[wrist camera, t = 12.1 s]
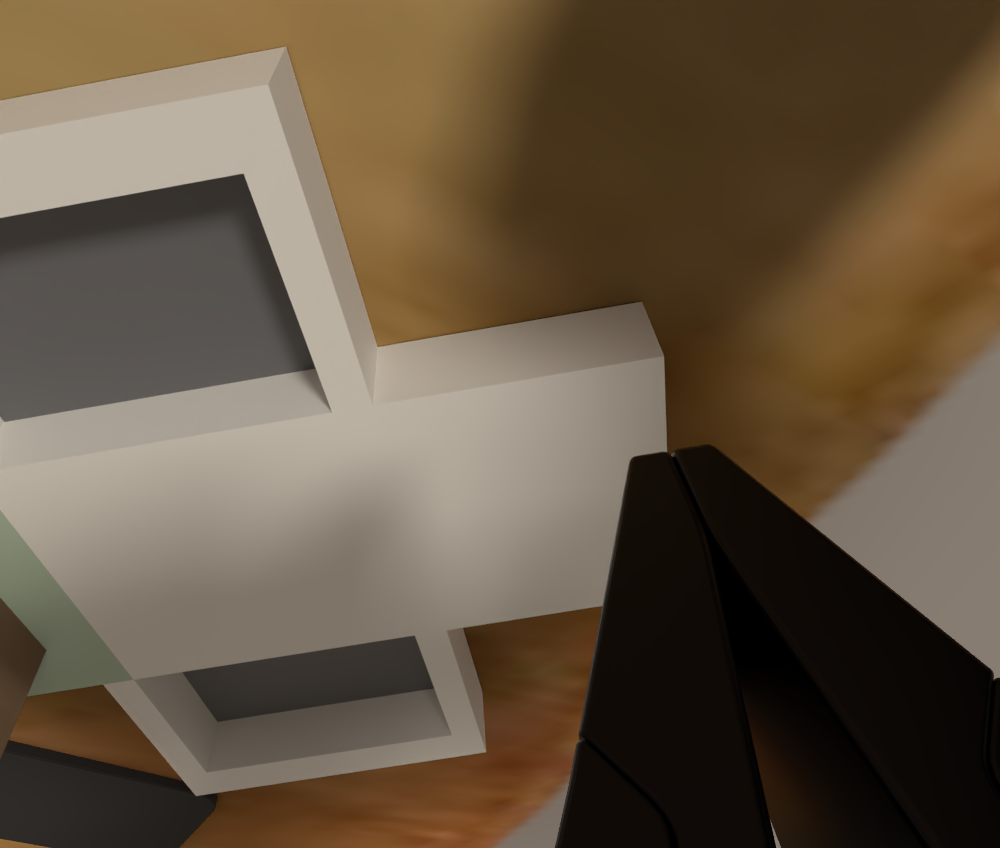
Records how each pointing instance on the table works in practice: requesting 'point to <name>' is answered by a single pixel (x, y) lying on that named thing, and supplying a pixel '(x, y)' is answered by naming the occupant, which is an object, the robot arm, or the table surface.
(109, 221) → the box
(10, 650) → the walnut block
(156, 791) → the phone
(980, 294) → the table surface
